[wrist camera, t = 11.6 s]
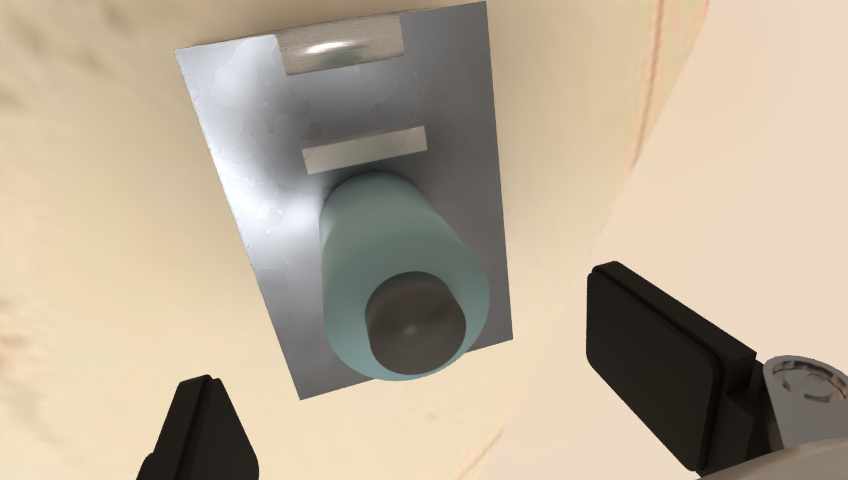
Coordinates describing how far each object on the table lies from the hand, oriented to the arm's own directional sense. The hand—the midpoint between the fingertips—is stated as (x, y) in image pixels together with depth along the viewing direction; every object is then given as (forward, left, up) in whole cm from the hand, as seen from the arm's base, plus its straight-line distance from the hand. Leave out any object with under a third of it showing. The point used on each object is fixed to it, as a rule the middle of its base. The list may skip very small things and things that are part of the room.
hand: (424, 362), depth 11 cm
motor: (0, 0, -22) cm, 22 cm away
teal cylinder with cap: (0, 0, -10) cm, 10 cm away
